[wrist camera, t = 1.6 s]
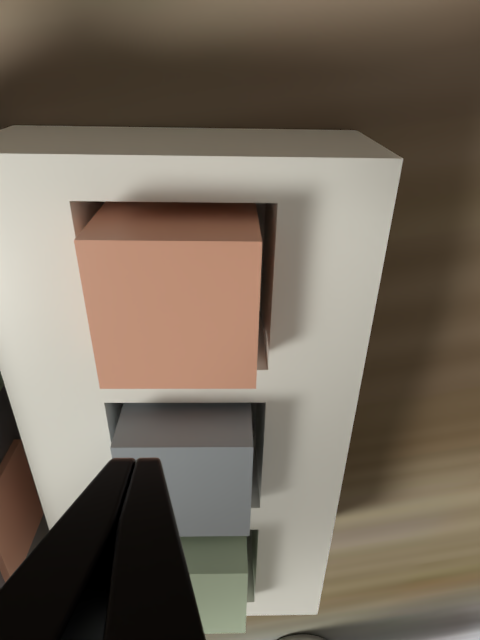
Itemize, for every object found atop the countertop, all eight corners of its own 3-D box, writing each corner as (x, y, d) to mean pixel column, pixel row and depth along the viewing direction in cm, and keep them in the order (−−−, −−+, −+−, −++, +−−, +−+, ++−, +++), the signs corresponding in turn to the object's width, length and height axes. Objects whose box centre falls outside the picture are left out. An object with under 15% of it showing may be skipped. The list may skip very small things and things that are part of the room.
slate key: (246, 454, 21) (249, 536, 17) (143, 455, 20) (126, 537, 17) (249, 372, 18) (253, 447, 15) (132, 372, 18) (110, 447, 15)
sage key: (243, 549, 24) (245, 633, 21) (155, 550, 24) (143, 634, 21) (245, 490, 22) (247, 573, 18) (147, 491, 22) (132, 574, 18)
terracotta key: (250, 320, 17) (255, 388, 14) (126, 320, 17) (99, 388, 13) (254, 197, 15) (262, 241, 11) (110, 195, 15) (74, 240, 11)
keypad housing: (303, 525, 27) (324, 660, 21) (47, 527, 27) (-6, 665, 21) (356, 130, 16) (433, 176, 10) (-78, 123, 16) (-268, 168, 10)
